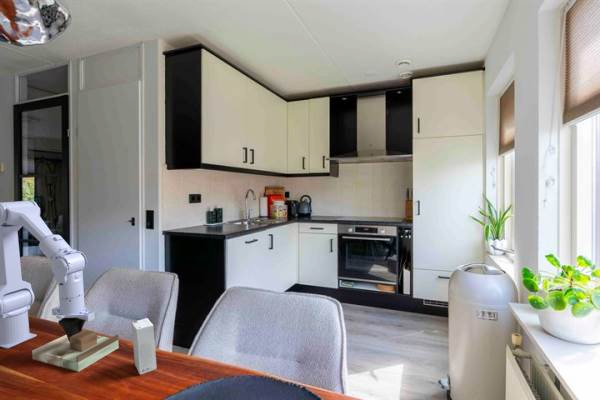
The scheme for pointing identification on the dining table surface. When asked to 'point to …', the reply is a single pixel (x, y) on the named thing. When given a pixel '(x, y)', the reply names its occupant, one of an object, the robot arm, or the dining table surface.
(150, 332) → the skincare box
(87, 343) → the walnut block
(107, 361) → the dining table surface
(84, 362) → the box
